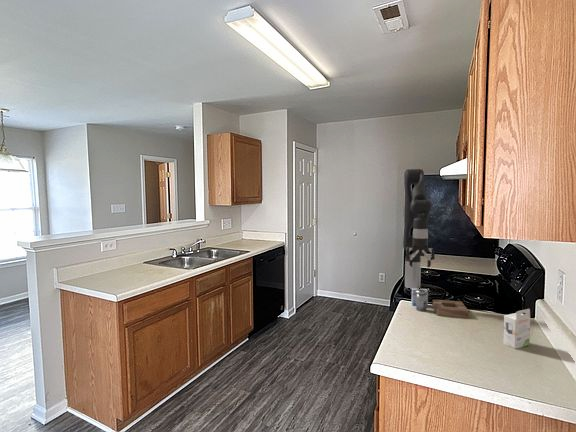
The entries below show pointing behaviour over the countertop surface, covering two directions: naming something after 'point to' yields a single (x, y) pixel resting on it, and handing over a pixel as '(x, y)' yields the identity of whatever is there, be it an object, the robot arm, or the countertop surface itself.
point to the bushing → (421, 299)
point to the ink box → (517, 329)
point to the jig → (450, 308)
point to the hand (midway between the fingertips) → (419, 266)
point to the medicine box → (415, 297)
